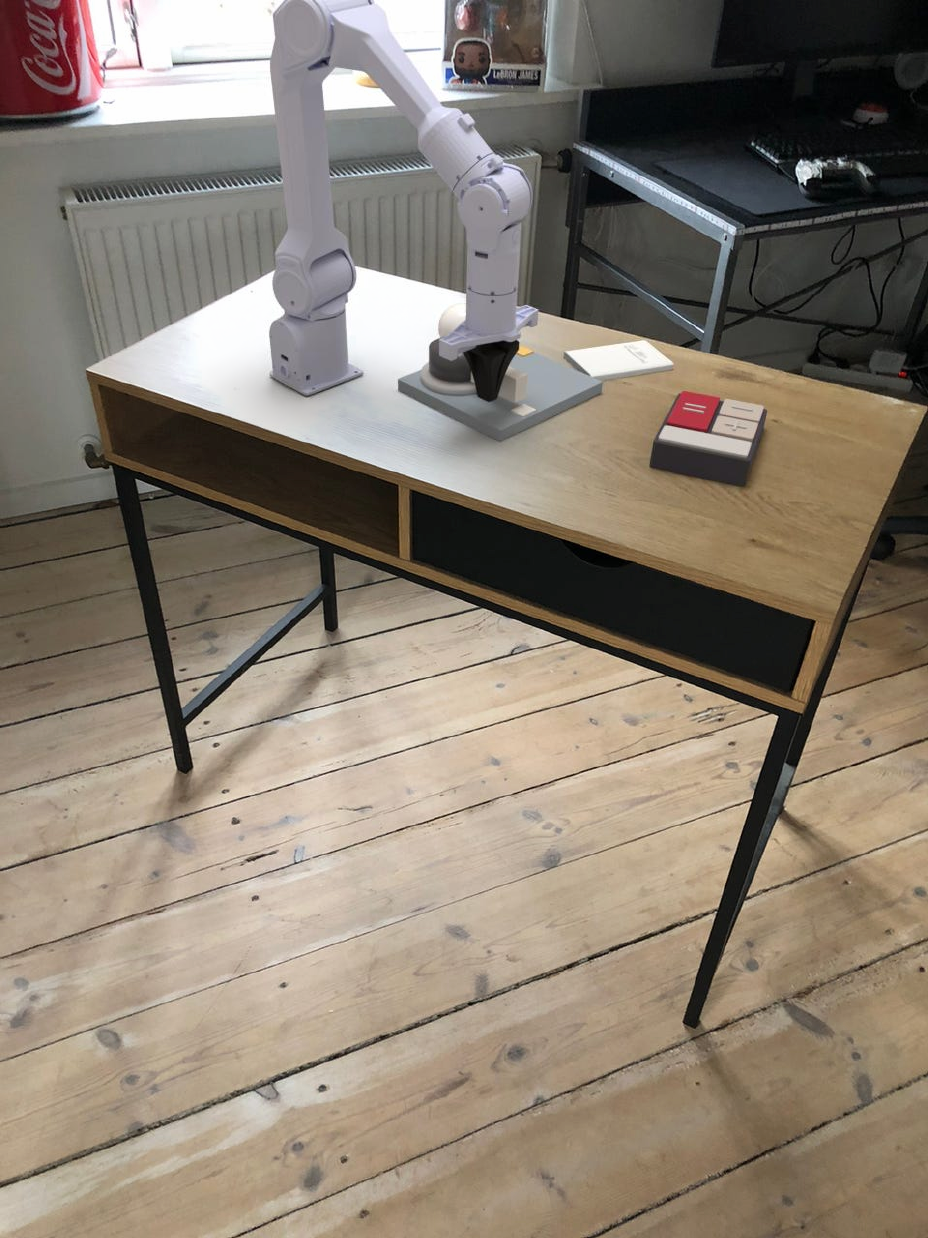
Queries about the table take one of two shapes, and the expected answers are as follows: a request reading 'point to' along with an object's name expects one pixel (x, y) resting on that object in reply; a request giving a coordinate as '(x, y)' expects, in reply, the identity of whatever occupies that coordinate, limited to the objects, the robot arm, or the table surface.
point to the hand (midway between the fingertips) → (487, 397)
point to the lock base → (502, 417)
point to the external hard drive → (619, 360)
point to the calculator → (709, 438)
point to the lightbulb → (451, 319)
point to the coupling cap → (461, 372)
